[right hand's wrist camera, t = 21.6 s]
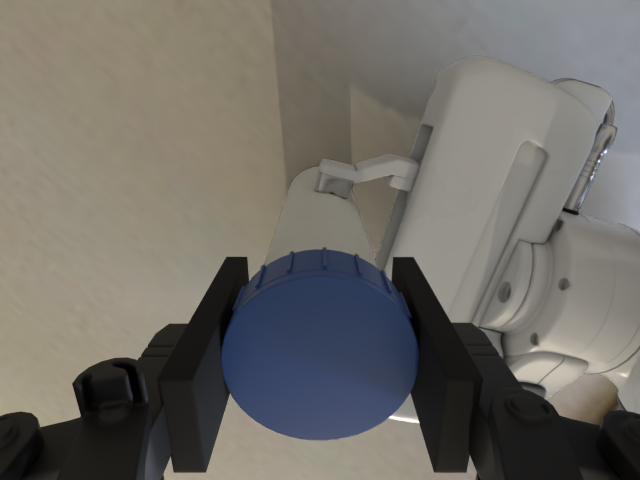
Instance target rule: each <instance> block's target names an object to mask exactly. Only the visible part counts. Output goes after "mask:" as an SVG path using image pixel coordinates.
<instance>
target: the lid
mask: <svg viewBox="0 0 640 480" xmlns="http://www.w3.org/2000/svg"><path fill="white" fill-rule="evenodd" d="M233 311H234V312H233V315H232V317H231V320H230V322H229V325H228V327H227V330H226V332H225V335H224V338H223V343H222V347H221V359H222V369H223V377H224V381H225V383H226V385H227V388H228V390H229V392H230V394H231V395H232V397H233V399H234V400H235V401H236V402H237V404H238V405H239V406H240V408H241V409H243V410H244V411H245V412H246V413H247V414H248V415H249V416H250V417H251V418H253V419H254V420H255V421H257V422H258V423H260V424H261V425H263V426H265V427H266V428H268V429H271V430H273V431H275V432H277V433H280V434H283V435H286V436H289V437H294V438H299V439H306V440H336V439H341V438H347V437H350V436H354V435H357V434H360V433H363V432H365V431H368V430H370V429H372V428H374V427H375V426H377V425H379V424H381V423H382V422H383V421H385V420H386V419H388V418H389V417H390V416H391V415H392V414H394V413H395V412H396V411H397V410H398V409H399V408H400V406H401V405H402V404H403V403H404V402H405V400H406V399H407V397H408V396H409V394H410V392H411V390H412V388H413V386H414V384H415V381H416V378H417V371H418V361H419V346H418V341H417V338H416V335H415V332H414V329H413V327H412V324H411V322H410V318H412V316H411V314H410V312H409V309H408V307H407V304H406V302H405V299H404V297H403V295H402V293H401V292H400V293H398V291H397V289H396V287H395V286H394V285H393V283H392V282H391V281H390V279H389V278H388V277H387V275H386V273H385V271H384V270H382V271H380V270H379V269H378V268H377V267H375V266H374V265H372V264H371V263H369V262H367V261H366V260H364V259H362V258H359V255H358V254H355V255H352V254H348V253H345V252H341V251H335V250H327V249H326V247H323V249H314V250H304V251H300V252H295V253H294V252H293V251H291V252H290V254H289V255H286V256H283V257H281V258H279V259H277V260H275V261H273V262H271V263H269V264H268V265H267V266H265V265H262V266H261V269H260V271H259V272H258V273H257V274H255V275H254V276H253V277H252V279H251V280H250V281H249V282H248V284H247V285H246V286H242V288H241V290H240V292H239V295H238V297H237V300H236V302H235V305H234V307H233Z"/></svg>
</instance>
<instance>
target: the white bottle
mask: <svg viewBox="0 0 640 480" xmlns="http://www.w3.org/2000/svg"><path fill="white" fill-rule="evenodd" d="M318 170H319V167H312V168H308V169H306V170H304V171H302V172H301V173H300V174H298V175H297V176H296V177H295V178H294V180H293V181H292V183H291V185H290V187H289V190H288V193H287V196H286V199H285V202H284V205H283V208H282V211H281V214H280V217H279V220H278V223H277V226H276V229H275V232H274V235H273V238H272V241H271V244H270V248H269V251H268V254H267V257H266V260H265V263H264V265H265V266H267V265H268V264H269V263H271V262H273V261H275V260H277V259H279V258H281V257H283V256H286V255H289V254H290V252H291V251H293V252H294V253H295V252H300V251H304V250H314V249H323V247H326V249H327V250H335V251H341V252H345V253H348V254H352V255H355V254H358V255H359V258H362V259H364V260H366V261H367V262H369V263H371V264H372V265H374V266H375V267H377V265H376V262H375V259H374V256H373V253H372V250H371V247H370V244H369V241H368V238H367V235H366V232H365V229H364V226H363V223H362V220H361V217H360V214H359V211H358V208H357V204H356V201H355V198H354V195H353V192H352V189H351V192H350V195H349V198H348V199H346V198H342V197H338V196H335V195H334V193H333V192H331V193H328V194H327V193H322V192H319V191H317V190H315V183H316V179H317V174H318Z"/></svg>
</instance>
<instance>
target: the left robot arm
mask: <svg viewBox="0 0 640 480" xmlns="http://www.w3.org/2000/svg"><path fill="white" fill-rule="evenodd" d="M603 118H604V120H603ZM602 120H603V124H602V123H601V122H602ZM613 120H614V104H613V101H612V97H611V95H610V94H609V93H608V92H607V91H606V90H604V89H602V88H601V87H599V86H596V85H593V84H590V83H586V82H583V81H579V80H576V79H572V78H562V79H557V80H554V81H552V82H549V81H547V80H545V79H543V78H540V77H538V76H536V75H534V74H532V73H530V72H528V71H525V70H523V69H520V68H518V67H516V66H513V65H510V64H508V63H505V62H502V61H499V60H496V59H493V58H490V57H486V56H469V57H465V58H462V59H460V60H457V61H455V62H453V63H452V64H450V65H448V66H446V67H444V68H443V69H441V70H440V71H439V72H438V74H437V76H436V78H435V81H434V84H433V87H432V90H431V93H430V96H429V99H428V102H427V105H426V108H425V111H424V114H423V117H422V120H421V123H420V126H419V129H418V132H417V135H416V138H415V141H414V144H413V147H412V150H411V153H410V156H409V158H407V157H403V156H399V155H395V154H391V153H388V154H385V155H381V156H378V157H374V158H371V159H367V160H364V161H361V162H357V163H354V165H350V164H346V163H342V162H338V161H334V160H330V159H324V158H321V162H320V166H319V170H318V174H317V179H316V183H315V190H317V191H319V192H322V193H327V194H328V193H331V192H333V193H334V195H335V196H338V197H342V198H346V199H348V198H349V195H350V192H351V189H352V185H353V184H357V183H361V182H365V181H369V180H373V179H377V178H381V177H384V179H385V180H386V181H387V182H388V184H389V185H390V186H391V187H393V188H397V189H399V190H398V193H397V196H396V199H395V202H394V205H393V208H392V211H391V214H390V217H389V220H388V223H387V226H386V229H385V232H384V235H383V238H382V241H381V244H380V247H379V250H378V253H377V256H376V259H375V262H376V265H377V268H378V269H379V270H380V271H382V270H384V271H385V273H386V275H387V277H388V278H389V279H390V281H391V279H392V265H393V257H414V259H415V260H416V262H417V264H418V266H419V267H420V269H421V271H422V273H423V274H424V276H425V278H426V280H427V281H428V283H429V285H430V286H431V288H432V290H433V292H434V293H435V295H436V297H437V299H438V300H439V302H440V304H441V306H442V307H443V309H444V311H445V313H446V314H447V316H448V318H449V320H450V321H451V323H472V324H474V325H475V326H476V327H478V328H479V329H481V330H482V331H483V332H485V334H486V335H487V337H488V338H489V340H490V341H491V342H492V345H493V346H494V347H495V348H496V350H497V351H498V353H499V356H501V357H502V358H503V360H504V361H505V363H506V364H507V366H508V367H509V369H510V370H511V371H512V373H513V374H514V376H515V377H516V379H517V380H518V382H519V383H520V384H521V386H522V387H523V389H525V390H529V391H532V392H534V393H535V394H537V395H539V396H541V397H543V398H544V399H546V400H547V399H548V398H549V397H551V396H552V395H553V394H555V393H556V392H558V391H559V390H560V389H562V388H563V387H565V386H567V385H568V384H570V383H572V382H573V381H575V380H576V379H578V378H579V377H580V376H581V375H582V374H595V375H602V376H604V377H606V378H607V379H609V380H610V381H612V382H613V383H614V384H615V385H616V386H617V388H618V390H619V391H617V392H616V397H617V401H618V404H619V406H620V409H621V410H623V411H629V412H635V413H638V414H640V232H639V231H637V230H635V229H633V228H631V227H629V226H626V225H622V224H619V223H616V222H612V221H608V220H604V219H600V218H596V217H593V216H589V215H585V214H581V213H578V211H579V209H580V207H581V205H582V203H583V201H584V199H585V197H586V195H587V193H588V191H589V189H590V187H591V185H592V183H593V178H595V173H596V172H597V168H598V167H599V165H600V162H601V161H602V159H603V157H604V155H605V154H607V153H608V151H609V150H610V148H611V146H612V144H613V142H614V140H615V136H616V133H617V127H615V126H612V124H613ZM388 419H393V420H398V421H405V422H411V423H419V420H418V417H417V414H416V410H415V407H414V404H413V400H412V397H411V394H409V396H408V397H407V399H406V400H405V402H404V403H403V404H402V405H401V406H400V408H399V409H398V410H397V411H396V412H395V413H394V414H392V415H391V416H390V417H389V418H388ZM419 424H420V423H419Z"/></svg>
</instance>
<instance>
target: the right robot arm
mask: <svg viewBox="0 0 640 480" xmlns="http://www.w3.org/2000/svg"><path fill="white" fill-rule="evenodd" d="M248 282H249V276H248V262H247V257H226V259H225V261H224V262H223V264H222V266H221V268H220V269H219V271H218V273H217V275H216V276H215V278H214V280H213V282H212V283H211V285H210V287H209V289H208V290H207V292H206V294H205V296H204V297H203V299H202V301H201V303H200V304H199V306H198V308H197V310H196V311H195V313H194V315H193V316H192V318H191V320H190V322H189V323H188V324H168V325H167V326H166V327H164V328H163V329H162V330H160V331H159V332H157V333H156V334H155V336H154V337H153V339H152V340H151V341H150V343H149V344H148V347H146V349H145V350H144V352H143V353H142V355H141V357H139V359H138V360H135V359H131V358H113V359H109V360H106V361H102V362H100V363H97V364H95V365H93V366H91V367H89V368H88V369H86V370H85V371H84V372H82V373H81V374H80V375H78V377H77V378H76V379H75V381H74V382H73V383H72V385H73V388H74V392H75V395H76V399H77V403H78V406H79V410H80V413H81V417H80V418H77V419H73V420H70V421H66V422H61V423H57V424H53V425H49V426H44V427H40V425H39V422H38V419H37V418H36V417H35V416H34V415H33V414H32V413H26V412H15V413H9V414H5V415H2V416H0V480H164V475H163V473H164V471H165V468H166V466H167V463H168V461H169V459H170V456H171V460H172V465H173V471H174V472H206V471H207V467H208V464H209V461H210V457H211V454H212V451H213V447H214V444H215V441H216V437H217V434H218V431H219V427H220V424H221V421H222V418H223V414H224V411H225V408H226V404H227V401H228V398H229V394H230V392H229V390H228V388H227V385H226V383H225V381H224V377H223V369H222V359H221V347H222V343H223V338H224V335H225V332H226V330H227V327H228V325H229V322H230V320H231V317H232V315H233V312H234V311H233V307H234V305H235V302H236V300H237V297H238V295H239V292H240V290H241V288H242V286H246V285H247V284H248ZM391 282H392V283H393V285H394V286H395V287H396V289H397V291H398V293H400V292H401V293H402V295H403V297H404V299H405V302H406V304H407V307H408V309H409V312H410V314H411V316H412V318H410V322H411V324H412V327H413V329H414V332H415V335H416V338H417V341H418V346H419V361H418V371H417V378H416V381H415V384H414V386H413V388H412V390H411V392H410V394H411V397H412V400H413V404H414V407H415V410H416V414H417V417H418V420H419V423H420V427H421V430H422V433H423V437H424V440H425V443H426V447H427V450H428V453H429V457H430V460H431V463H432V467H433V470H434V472H467V466H468V461H469V455H470V456H471V459H472V461H473V463H474V466H475V468H476V471H477V475H476V480H640V414H638V413H635V412H629V411H623V410H617V411H610V412H608V413H607V414H606V415H605V416H604V417H603V420H602V423H601V426H599V425H594V424H590V423H586V422H581V421H577V420H573V419H569V418H566V417H562V416H559V414H558V413H557V411H556V410H555V408H554V407H553V405H551V404H550V403H549V402H548V401H547V400H546V399H544V398H543V397H541V396H539V395H537V394H535V393H534V392H532V391H529V390H525V389H523V387H522V386H521V384H520V383H519V382H518V380H517V379H516V377H515V376H514V374H513V373H512V371H511V370H510V369H509V367H508V366H507V364H506V363H505V361H504V360H503V358H502V357H501V356H499V353H498V351H497V350H496V348H495V347H494V346H493V345H492V342H491V341H490V340H489V338H488V337H487V335H486V334H485V332H483V331H482V330H481V329H479V328H478V327H476V326H475V325H474V324H472V323H451V321H450V320H449V318H448V316H447V314H446V313H445V311H444V309H443V307H442V306H441V304H440V302H439V300H438V299H437V297H436V295H435V293H434V292H433V290H432V288H431V286H430V285H429V283H428V281H427V280H426V278H425V276H424V274H423V273H422V271H421V269H420V267H419V266H418V264H417V262H416V260H415V259H414V257H393V265H392V279H391Z"/></svg>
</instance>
